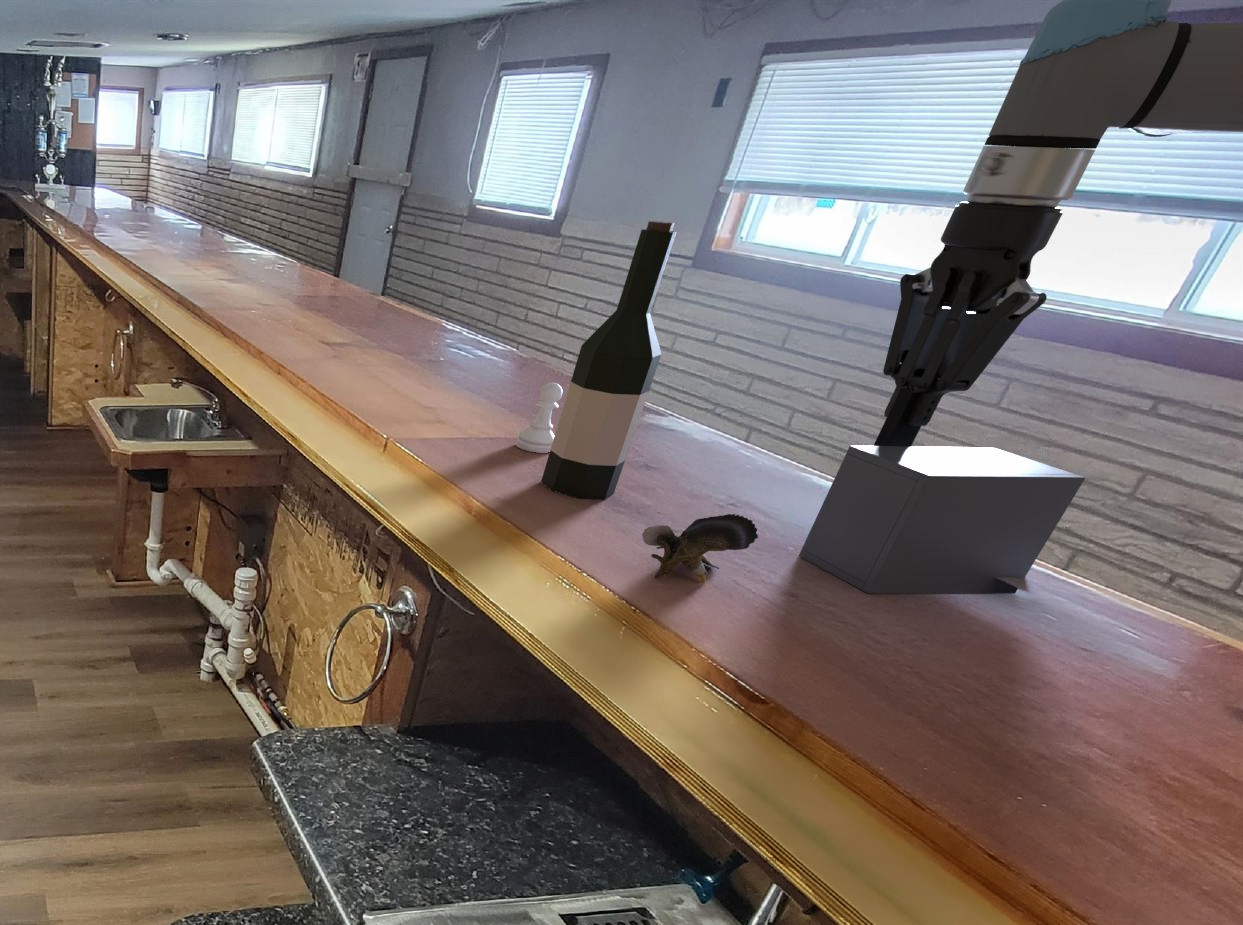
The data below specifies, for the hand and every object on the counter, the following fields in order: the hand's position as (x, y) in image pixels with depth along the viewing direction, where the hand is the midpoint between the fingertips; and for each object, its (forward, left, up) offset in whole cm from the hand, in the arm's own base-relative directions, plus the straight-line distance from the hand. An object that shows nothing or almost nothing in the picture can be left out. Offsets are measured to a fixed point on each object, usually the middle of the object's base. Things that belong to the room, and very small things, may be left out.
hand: (888, 452), depth 94 cm
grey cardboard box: (0, +8, -10) cm, 13 cm away
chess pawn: (+18, -33, -11) cm, 39 cm away
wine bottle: (+21, -17, -11) cm, 29 cm away
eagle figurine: (+24, +8, -11) cm, 27 cm away
